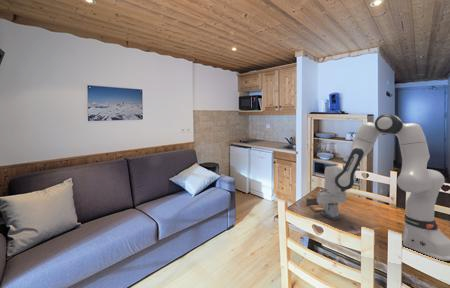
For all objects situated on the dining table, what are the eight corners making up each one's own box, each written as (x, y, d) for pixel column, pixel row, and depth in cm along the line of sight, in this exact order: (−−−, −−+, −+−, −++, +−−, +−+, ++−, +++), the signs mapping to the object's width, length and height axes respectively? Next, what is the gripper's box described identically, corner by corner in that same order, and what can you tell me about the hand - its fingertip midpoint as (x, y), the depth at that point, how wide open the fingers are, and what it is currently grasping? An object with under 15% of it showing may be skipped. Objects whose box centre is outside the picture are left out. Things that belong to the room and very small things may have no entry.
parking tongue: (341, 219, 141) (341, 217, 141) (331, 220, 140) (331, 218, 140) (328, 212, 153) (328, 210, 153) (319, 213, 152) (319, 211, 151)
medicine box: (338, 218, 143) (338, 205, 142) (332, 218, 142) (332, 205, 142) (330, 213, 151) (330, 201, 150) (324, 214, 150) (324, 201, 149)
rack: (327, 211, 155) (327, 202, 155) (316, 212, 153) (316, 204, 153) (317, 205, 167) (317, 197, 167) (306, 207, 165) (306, 198, 165)
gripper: (321, 191, 140) (320, 212, 141) (348, 188, 145) (348, 209, 145) (314, 188, 146) (314, 209, 147) (341, 186, 151) (341, 206, 151)
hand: (331, 209), depth 146 cm, fingers closed on medicine box, 5 cm apart
